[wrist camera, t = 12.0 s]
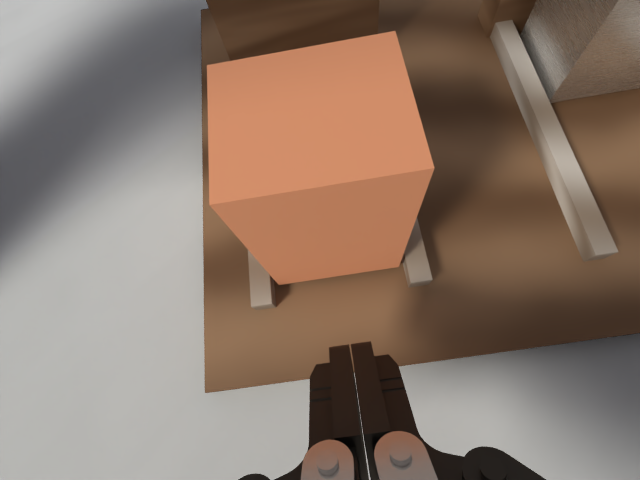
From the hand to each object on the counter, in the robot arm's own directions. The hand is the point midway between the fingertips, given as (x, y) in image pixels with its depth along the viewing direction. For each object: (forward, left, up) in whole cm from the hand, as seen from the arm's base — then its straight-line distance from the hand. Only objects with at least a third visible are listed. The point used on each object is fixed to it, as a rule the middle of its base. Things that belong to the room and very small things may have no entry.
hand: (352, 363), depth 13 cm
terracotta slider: (+5, +4, -4) cm, 8 cm away
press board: (+15, +2, -5) cm, 16 cm away
